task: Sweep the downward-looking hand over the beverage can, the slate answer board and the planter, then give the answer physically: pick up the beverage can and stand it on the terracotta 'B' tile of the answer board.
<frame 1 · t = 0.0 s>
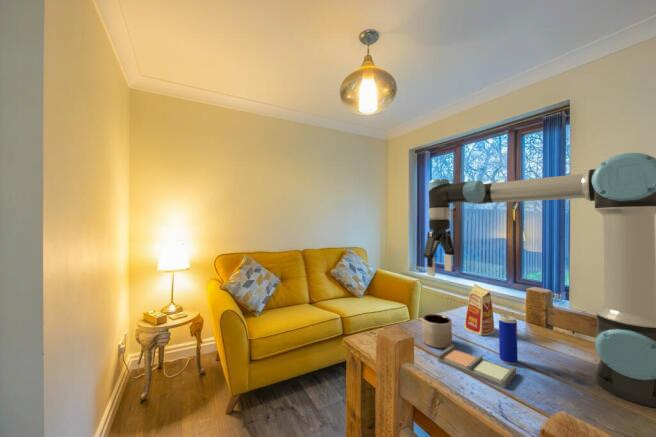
hand: (440, 273, 104), 28 cm above the table, fingers open, 13 cm apart
milk carton: (480, 331, 117), on the table
beverage can: (508, 361, 91), on the table
answer board: (475, 367, 88), on the table
planter: (437, 343, 106), on the table
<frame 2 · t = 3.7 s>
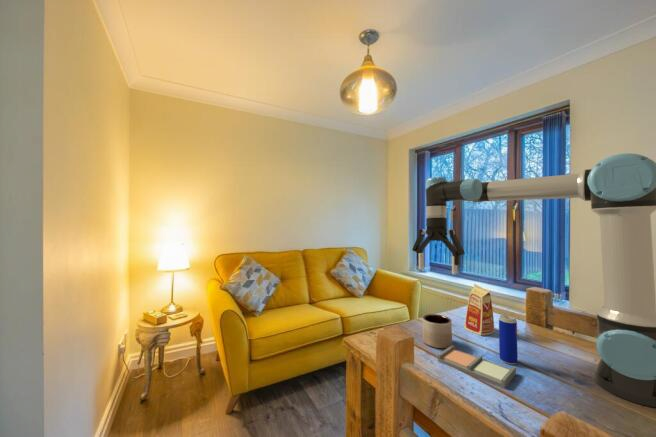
hand: (437, 271, 105), 29 cm above the table, fingers open, 13 cm apart
nothing on the table moved.
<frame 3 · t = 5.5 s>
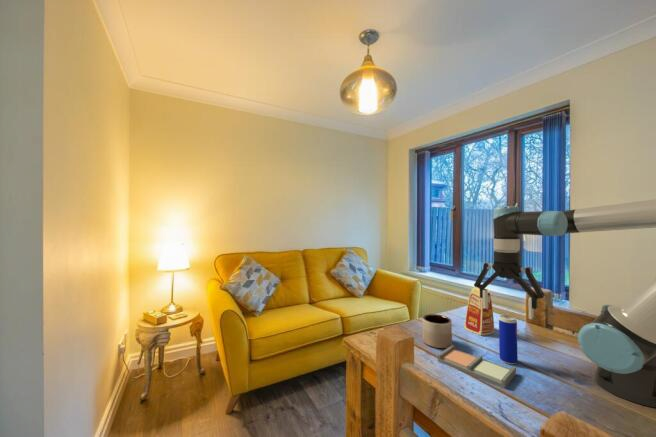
hand: (506, 312, 92), 17 cm above the table, fingers open, 13 cm apart
nothing on the table moved.
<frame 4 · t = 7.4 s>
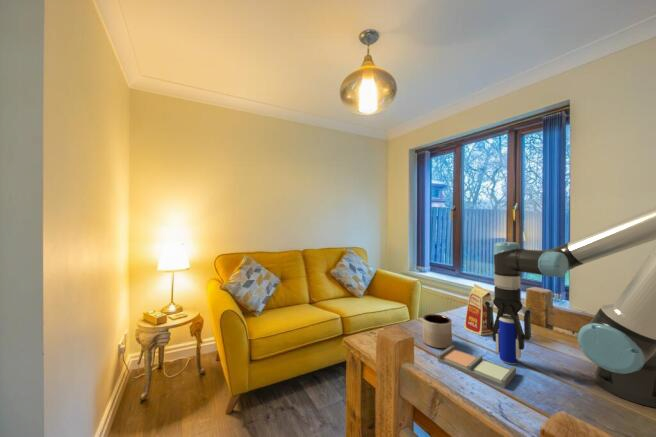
hand: (508, 354, 91), 2 cm above the table, fingers closed on beverage can, 5 cm apart
beverage can: (508, 361, 91), on the table, touching gripper
everything else where it was.
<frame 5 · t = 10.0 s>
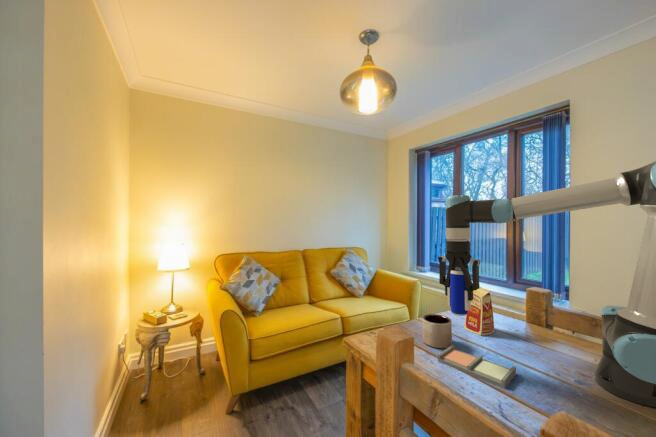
hand: (458, 307, 92), 19 cm above the table, fingers closed on beverage can, 5 cm apart
beverage can: (459, 314, 92), point 16 cm above the table, touching gripper
everything else where it was.
when the fingers open (5 cm above the table, at t = 12.8 s): beverage can stays where it is, resting on answer board.
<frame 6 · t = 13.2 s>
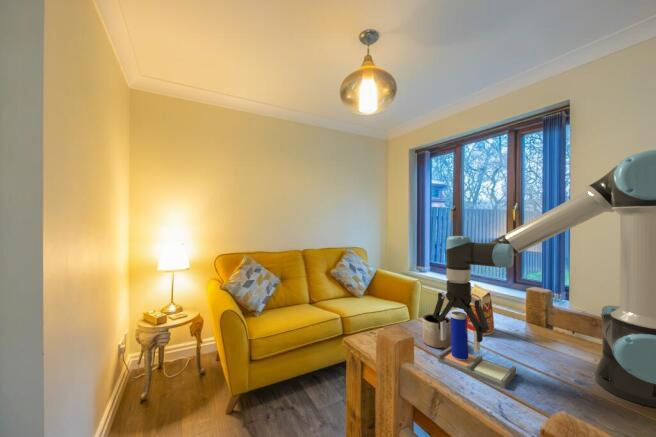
hand: (459, 344, 92), 6 cm above the table, fingers open, 10 cm apart
beverage can: (459, 357, 92), point 1 cm above the table, touching answer board
everything else where it was.
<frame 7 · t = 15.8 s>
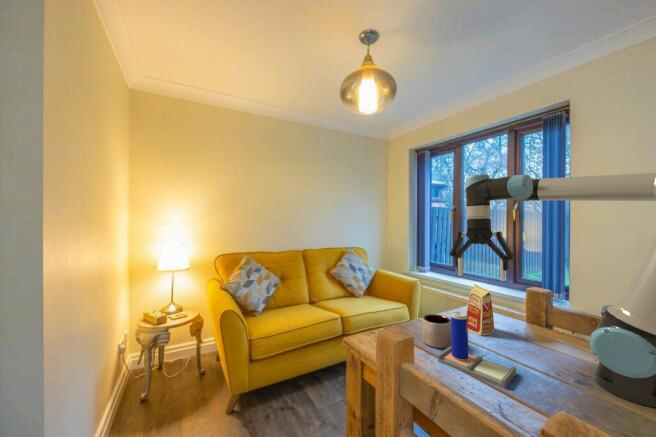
hand: (480, 277, 95), 28 cm above the table, fingers open, 13 cm apart
nothing on the table moved.
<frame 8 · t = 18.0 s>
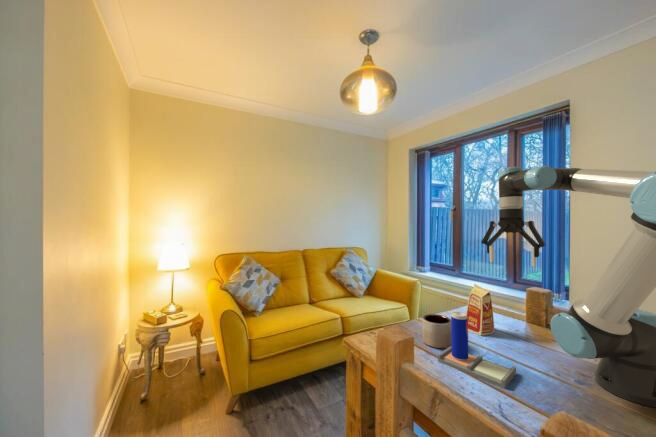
hand: (511, 263, 102), 32 cm above the table, fingers open, 13 cm apart
nothing on the table moved.
at the end: beverage can inside the target area on the answer board (0.4 cm from its centre), point 1.1 cm above the answer board's base; beverage can tilted 0°; the gripper is holding nothing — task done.
